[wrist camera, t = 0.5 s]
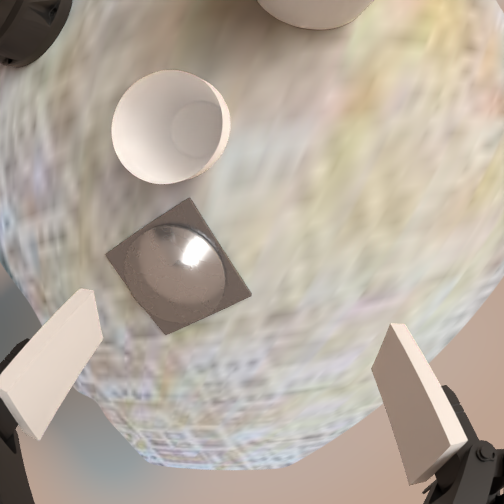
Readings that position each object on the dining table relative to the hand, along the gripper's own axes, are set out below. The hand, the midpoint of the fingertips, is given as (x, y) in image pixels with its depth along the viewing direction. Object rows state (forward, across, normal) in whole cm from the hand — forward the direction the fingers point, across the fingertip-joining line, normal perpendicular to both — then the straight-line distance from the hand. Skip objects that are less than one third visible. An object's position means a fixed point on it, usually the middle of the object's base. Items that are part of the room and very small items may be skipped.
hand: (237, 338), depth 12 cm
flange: (+23, -9, -9) cm, 26 cm away
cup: (+23, -7, +8) cm, 26 cm away
